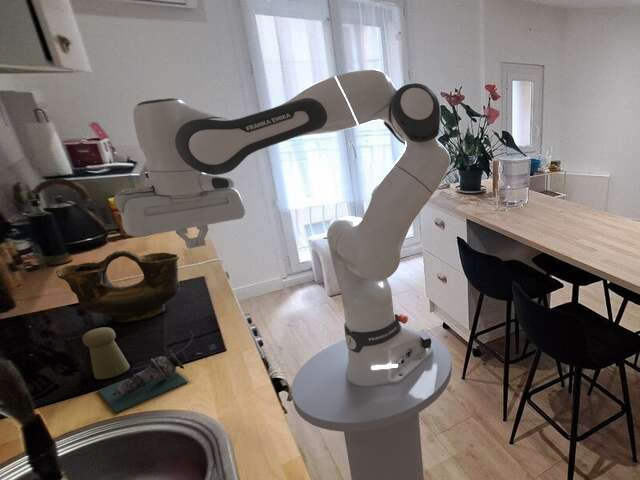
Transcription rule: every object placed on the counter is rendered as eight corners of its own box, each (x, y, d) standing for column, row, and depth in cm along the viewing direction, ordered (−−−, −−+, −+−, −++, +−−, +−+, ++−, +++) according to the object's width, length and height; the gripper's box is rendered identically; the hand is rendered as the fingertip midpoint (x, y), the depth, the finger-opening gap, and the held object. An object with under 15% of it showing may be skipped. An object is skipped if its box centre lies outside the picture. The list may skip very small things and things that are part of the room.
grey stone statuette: (183, 368, 97) (120, 404, 89) (168, 348, 96) (102, 382, 88) (187, 370, 93) (121, 408, 85) (170, 349, 92) (102, 385, 84)
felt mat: (166, 364, 99) (166, 363, 99) (187, 382, 93) (187, 381, 93) (98, 391, 90) (97, 390, 89) (116, 413, 84) (116, 411, 84)
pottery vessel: (76, 336, 109) (47, 268, 102) (79, 320, 117) (53, 255, 110) (194, 309, 125) (176, 248, 118) (191, 296, 132) (174, 238, 126)
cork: (94, 370, 96) (78, 329, 92) (129, 360, 100) (115, 321, 96) (93, 382, 92) (76, 340, 88) (130, 372, 96) (115, 331, 92)
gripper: (116, 192, 74) (139, 263, 78) (241, 178, 90) (254, 238, 95) (104, 188, 77) (127, 256, 81) (227, 175, 93) (240, 233, 98)
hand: (196, 246), depth 88 cm, fingers closed
